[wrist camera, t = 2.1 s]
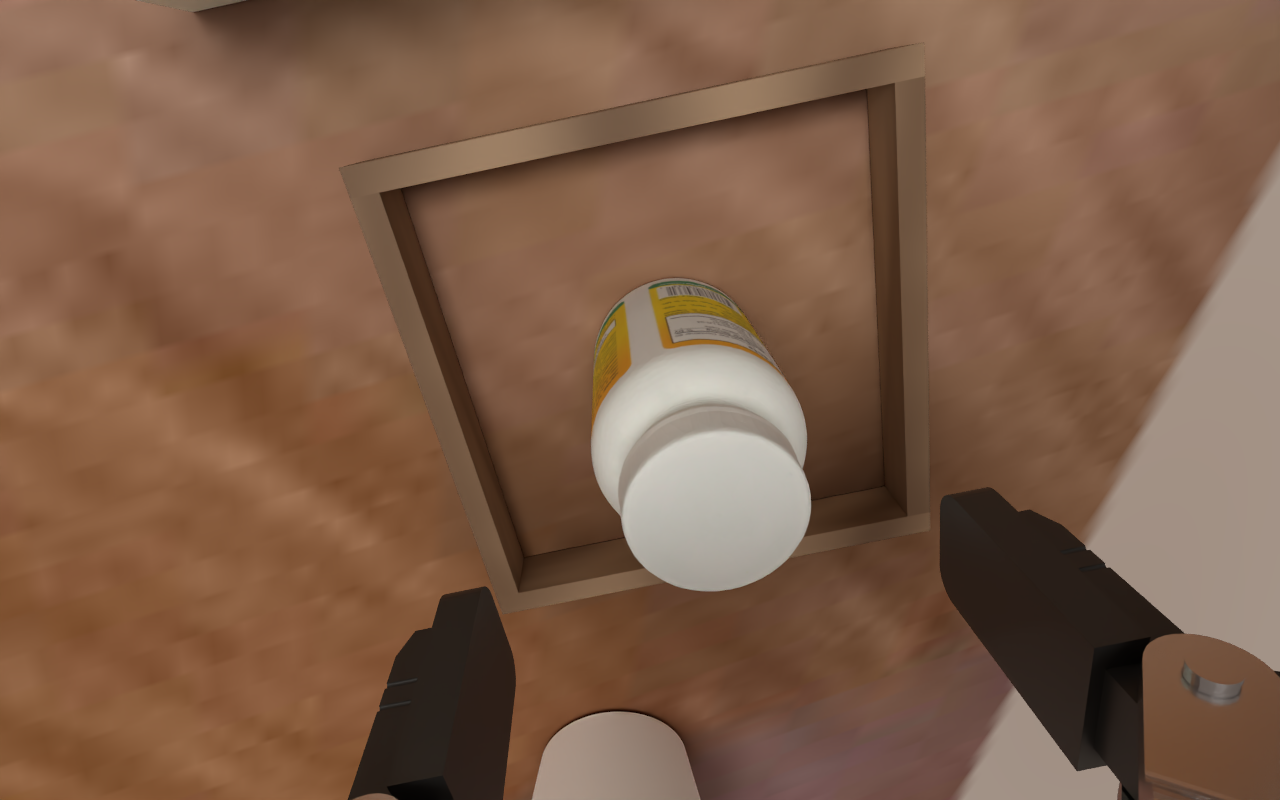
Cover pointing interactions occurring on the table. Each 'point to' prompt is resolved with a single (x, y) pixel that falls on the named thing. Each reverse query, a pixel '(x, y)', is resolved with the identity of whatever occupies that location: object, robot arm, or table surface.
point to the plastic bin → (191, 4)
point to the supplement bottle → (697, 438)
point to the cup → (615, 761)
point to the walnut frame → (882, 73)
